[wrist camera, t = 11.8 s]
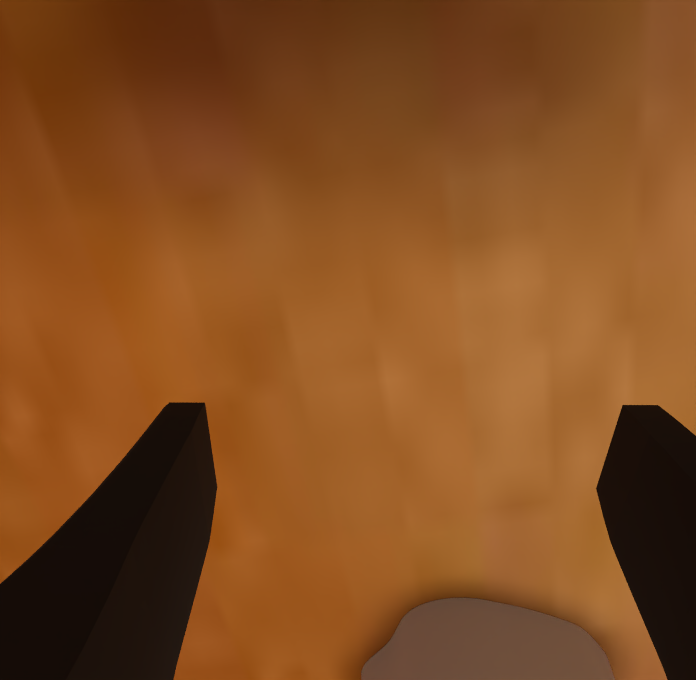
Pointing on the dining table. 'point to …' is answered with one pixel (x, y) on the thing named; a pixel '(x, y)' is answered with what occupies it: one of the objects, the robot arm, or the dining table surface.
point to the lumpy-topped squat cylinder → (486, 645)
